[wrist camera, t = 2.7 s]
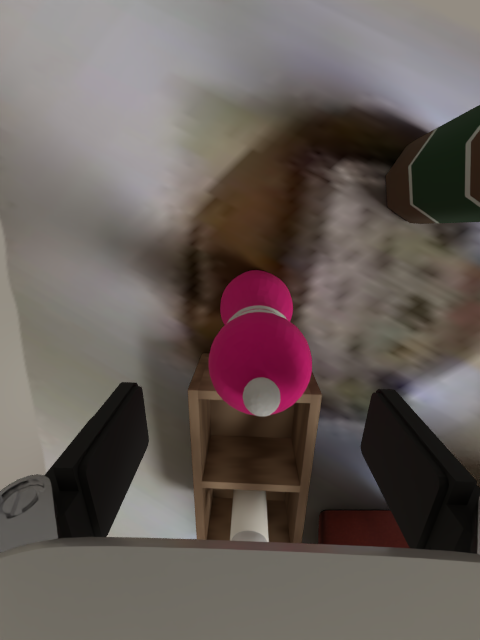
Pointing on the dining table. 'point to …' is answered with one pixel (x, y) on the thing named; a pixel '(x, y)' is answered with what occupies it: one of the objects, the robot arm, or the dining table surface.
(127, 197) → the dining table surface
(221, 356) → the pepper mill
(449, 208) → the beer bottle
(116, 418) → the robot arm
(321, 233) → the dining table surface
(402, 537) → the plant pot
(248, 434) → the caddy
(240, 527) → the salt shaker
